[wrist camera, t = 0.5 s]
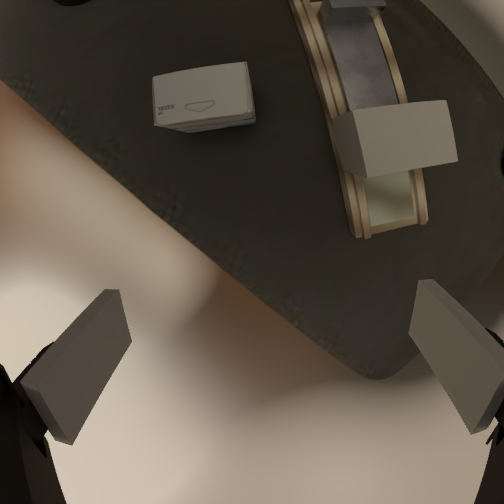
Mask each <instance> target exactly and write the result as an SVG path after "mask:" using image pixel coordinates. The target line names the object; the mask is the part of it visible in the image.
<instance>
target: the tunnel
mask: <svg viewBox="0 0 504 504" xmlns="http://www.w3.org/2000/svg"><path fill="white" fill-rule="evenodd" d="M332 123H333V127H334V131H335V135H336V139H337V143H338V148H339V152H340V156H341V161H342V165H343V170H344V171H345V172H348V173H352V174H355V175H359V176H362V177H365V178H371V177H376V176H381V175H386V174H391V173H396V172H401V171H407V170H412V169H417V168H423V167H428V166H434V165H439V164H445V163H451V162H457V161H458V158H457V152H456V146H455V140H454V135H453V129H452V124H451V120H450V115H449V110H448V106H447V102H446V100H439V101H426V102H414V103H404V104H395V105H387V106H379V107H372V108H365V109H358V110H352V111H350V112H347V113H345V114H343V115H341V116H338V117H336V118H334V119H332Z"/></svg>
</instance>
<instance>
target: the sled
mask: <svg viewBox="0 0 504 504" xmlns="http://www.w3.org/2000/svg"><path fill="white" fill-rule="evenodd" d="M386 6H387V5H386V3H385V1H384V0H323V1H322V4H321V6H320V8H319V11H318V13H317V16H318V19H319V22H320V24H321V27H322V30H323V33H324V36H325V38H326V41H327V44H328V47H329V50H330V53H331V56H332V59H333V62H334V66H335V69H336V72H337V75H338V79H339V82H340V85H341V89H342V92H343V96H344V99H345V103H346V107H347V111H348V112H350V111H352V110H358V109H365V108H372V107H379V106H387V105H395V104H398V101H397V97H396V93H395V90H394V86H393V83H392V79H391V76H390V72H389V69H388V66H387V63H386V60H385V57H384V54H383V51H382V48H381V45H380V42H379V39H378V36H377V34H376V31H375V28H374V26H373V23H372V22H373V20H374V19H375V18H376V17H377V16H378V15H379V14H380V13H381V12H382V11H383V10H384V8H385V7H386Z"/></svg>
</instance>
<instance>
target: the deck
mask: <svg viewBox="0 0 504 504" xmlns="http://www.w3.org/2000/svg"><path fill="white" fill-rule="evenodd" d="M322 1H323V0H288V3H289V5H290V8H291V11H292V13H293V16H294V19H295V22H296V24H297V27H298V30H299V33H300V36H301V39H302V42H303V45H304V48H305V51H306V54H307V57H308V60H309V63H310V66H311V70H312V73H313V76H314V79H315V83H316V86H317V90H318V93H319V97H320V100H321V104H322V107H323V111H324V115H325V119H326V122H327V126H328V130H329V134H330V138H331V142H332V147H333V151H334V155H335V159H336V164H337V168H338V173H339V178H340V182H341V187H342V192H343V197H344V202H345V207H346V213H347V218H348V224H349V229H350V232H351V233H352V234H353V235H354V236H355V237H356V238H359V237H363V238H364V239H367V238H371V235H372V234H376V233H380V232H384V231H388V230H392V229H396V228H400V227H404V226H408V225H413V224H417V223H418V224H420V225H424V224H427V222H426V221H428V213H427V204H426V196H425V188H424V181H423V174H422V168H417V169H412V170H407V171H401V172H396V173H391V174H386V175H381V176H376V177H371V178H365V177H362V176H359V175H355V174H352V173H348V172H345V171H344V170H343V165H342V161H341V156H340V152H339V148H338V143H337V139H336V135H335V131H334V127H333V123H332V119H334V118H336V117H338V116H341V115H343V114H345V113H347V112H348V111H347V107H346V103H345V99H344V96H343V92H342V89H341V85H340V82H339V79H338V75H337V72H336V69H335V66H334V62H333V59H332V56H331V53H330V50H329V47H328V44H327V41H326V38H325V36H324V33H323V30H322V27H321V24H320V22H319V19H318V16H317V13H318V11H319V8H320V6H321V4H322ZM372 23H373V26H374V28H375V31H376V34H377V36H378V39H379V42H380V45H381V48H382V51H383V54H384V57H385V60H386V63H387V66H388V69H389V72H390V76H391V79H392V83H393V86H394V90H395V93H396V97H397V101H398V104H404V103H408V101H407V97H406V93H405V90H404V86H403V82H402V79H401V76H400V72H399V69H398V66H397V63H396V59H395V56H394V53H393V50H392V47H391V45H390V42H389V39H388V36H387V33H386V31H385V28H384V25H383V23H382V20H381V18H380V15H378V16H377V17H376V18H375V19H374V20H373V22H372Z"/></svg>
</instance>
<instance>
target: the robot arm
mask: <svg viewBox="0 0 504 504" xmlns="http://www.w3.org/2000/svg"><path fill="white" fill-rule="evenodd" d="M53 1H55V2H57V3H59V4H61V5H64V6H73V5H78V4H82V3H84V2H87V1H89V0H53ZM409 335H410V336H411V338H412V339H413V341H414V342H415V344H416V345H417V347H418V348H419V350H420V351H421V353H422V354H423V356H424V357H425V359H426V360H427V362H428V364H429V365H430V367H431V368H432V370H433V372H434V373H435V375H436V376H437V378H438V379H439V381H440V382H441V384H442V386H443V388H444V389H445V391H446V392H447V394H448V396H449V397H450V399H451V401H452V402H453V404H454V406H455V407H456V409H457V411H458V413H459V414H460V416H461V418H462V419H463V421H464V423H465V425H466V427H467V428H468V430H469V432H470V433H471V435H472V434H475V433H477V432H480V431H482V430H485V429H487V428H488V427H489V425H490V423H491V422H492V420H493V418H494V417H495V418H496V419H497V421H498V422H499V423H498V425H497V426H496V427H495V429H494V431H493V432H492V434H491V435H490V437H489V438H488V440H487V442H486V444H488V443H489V442H490V441H491V440H492V439H493V440H492V444H491V449H490V453H489V457H488V461H487V464H486V468H485V472H484V475H483V478H482V482H481V485H480V488H479V491H478V494H477V497H476V499H475V502H474V504H504V343H503V340H502V339H500V337H499V336H498V335H497V334H496V333H494V332H492V331H490V330H489V329H487V328H483V327H482V326H481V325H480V324H479V323H478V322H477V321H476V320H475V319H474V318H473V317H472V316H471V315H470V314H469V313H468V312H467V311H466V310H465V309H464V308H463V307H462V306H461V305H460V304H459V303H458V302H457V301H456V300H455V299H454V298H453V297H452V296H451V295H449V294H448V293H447V292H446V291H445V290H444V289H443V288H442V287H441V286H440V285H439V284H437V283H436V282H435V281H434V280H433V279H428V280H419V281H418V287H417V293H416V298H415V304H414V309H413V314H412V319H411V324H410V328H409ZM131 342H132V340H131V336H130V332H129V329H128V325H127V321H126V317H125V313H124V309H123V305H122V300H121V296H120V292H119V290H109V289H105V290H104V291H103V292H102V293H101V294H100V295H99V296H98V297H97V298H96V299H95V300H94V301H93V302H92V303H91V304H90V305H89V306H88V307H87V308H86V309H85V310H84V311H83V312H82V313H81V314H80V315H79V316H78V317H77V318H76V319H75V320H74V322H73V323H72V324H71V325H70V326H69V327H68V328H67V329H66V330H65V331H64V332H63V333H62V334H61V335H60V336H59V338H58V339H57V340H56V341H55V342H52V343H51V344H49V345H48V346H46V347H44V348H43V349H42V350H41V351H40V352H39V353H38V355H37V356H36V358H34V359H33V360H32V361H31V364H29V365H28V366H27V367H26V368H25V369H24V370H23V371H22V373H21V374H20V375H19V376H18V377H17V378H16V380H15V381H14V382H13V383H12V382H11V380H10V378H9V376H8V374H7V372H6V371H5V368H4V367H3V366H2V365H1V364H0V504H66V501H65V498H64V495H63V492H62V489H61V486H60V484H59V481H58V477H57V474H56V471H55V467H54V464H53V460H52V456H51V452H50V448H49V444H48V442H47V440H46V438H45V436H44V435H45V433H46V432H47V430H49V432H50V433H51V435H52V436H53V437H54V439H55V440H56V441H59V442H62V443H65V444H69V445H73V443H74V441H75V439H76V437H77V436H78V433H79V432H80V430H81V428H82V426H83V424H84V423H85V421H86V419H87V417H88V415H89V414H90V412H91V410H92V408H93V407H94V405H95V403H96V401H97V400H98V398H99V396H100V394H101V393H102V391H103V389H104V387H105V386H106V384H107V382H108V381H109V379H110V377H111V375H112V374H113V372H114V370H115V369H116V367H117V365H118V364H119V362H120V360H121V359H122V357H123V355H124V354H125V352H126V350H127V349H128V347H129V346H130V344H131Z"/></svg>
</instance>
